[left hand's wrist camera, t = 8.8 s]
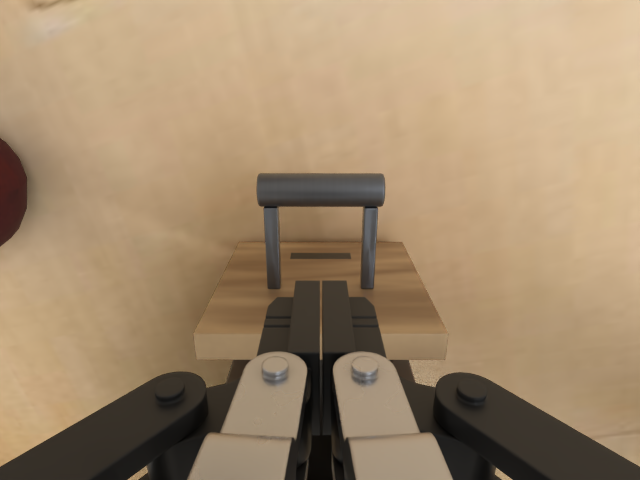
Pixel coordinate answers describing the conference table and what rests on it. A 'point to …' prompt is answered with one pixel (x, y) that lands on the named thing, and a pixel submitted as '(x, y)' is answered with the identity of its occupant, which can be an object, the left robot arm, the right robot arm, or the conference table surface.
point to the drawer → (316, 265)
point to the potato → (11, 192)
